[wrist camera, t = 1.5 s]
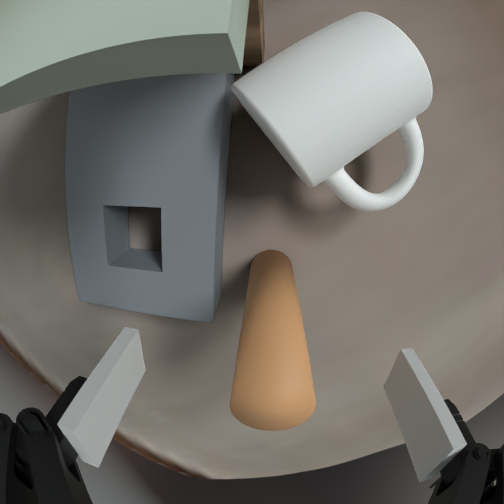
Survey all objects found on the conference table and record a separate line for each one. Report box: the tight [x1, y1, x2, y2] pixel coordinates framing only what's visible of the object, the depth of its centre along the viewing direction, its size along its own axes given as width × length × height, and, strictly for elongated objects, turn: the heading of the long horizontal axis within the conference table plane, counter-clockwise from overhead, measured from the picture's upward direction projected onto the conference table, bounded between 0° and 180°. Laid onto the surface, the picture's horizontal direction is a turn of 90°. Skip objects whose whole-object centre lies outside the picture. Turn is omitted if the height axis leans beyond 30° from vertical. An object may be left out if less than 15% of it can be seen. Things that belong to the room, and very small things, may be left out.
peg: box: [230, 250, 316, 431], centre depth 16 cm, size 3×3×14 cm
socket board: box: [65, 73, 235, 323], centre depth 19 cm, size 18×12×4 cm, turn 176°
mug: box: [231, 12, 433, 212], centre depth 15 cm, size 12×10×8 cm
